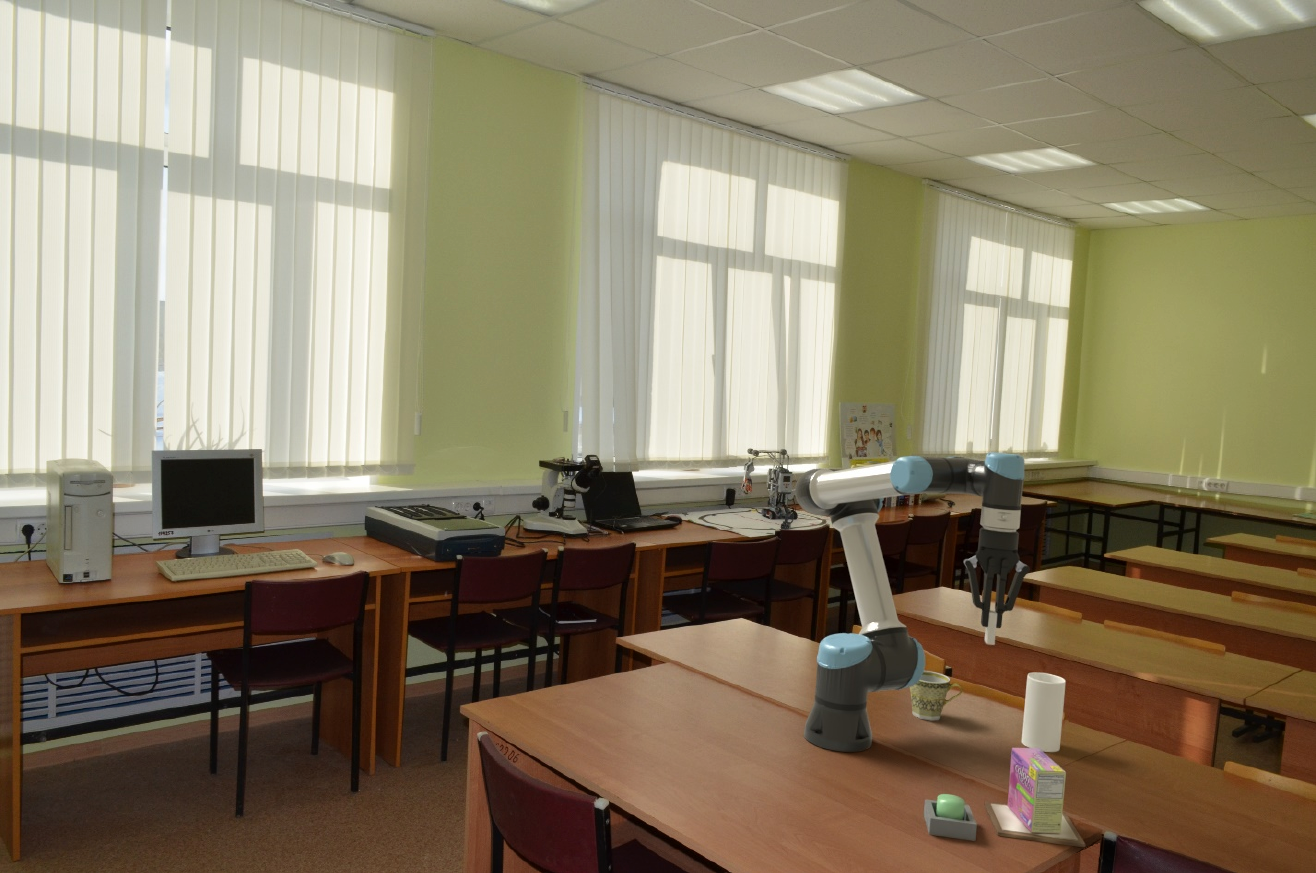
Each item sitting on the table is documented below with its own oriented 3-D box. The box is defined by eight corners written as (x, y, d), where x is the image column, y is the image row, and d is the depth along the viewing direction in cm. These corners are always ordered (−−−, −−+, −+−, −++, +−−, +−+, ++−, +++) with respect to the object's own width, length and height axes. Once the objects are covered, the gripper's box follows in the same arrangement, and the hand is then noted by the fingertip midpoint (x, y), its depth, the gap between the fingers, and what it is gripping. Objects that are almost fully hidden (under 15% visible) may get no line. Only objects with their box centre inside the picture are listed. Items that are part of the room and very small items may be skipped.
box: (1005, 806, 177) (1011, 746, 176) (1034, 807, 178) (1040, 748, 177) (1030, 833, 167) (1036, 770, 166) (1060, 834, 167) (1067, 771, 166)
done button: (937, 827, 167) (939, 803, 167) (933, 816, 172) (935, 792, 171) (964, 831, 166) (966, 807, 166) (960, 819, 171) (962, 796, 171)
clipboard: (997, 835, 167) (998, 829, 167) (984, 804, 180) (984, 799, 180) (1085, 847, 165) (1085, 841, 165) (1065, 815, 178) (1065, 809, 178)
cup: (1063, 754, 210) (1069, 685, 209) (1025, 749, 212) (1031, 680, 211) (1055, 741, 218) (1061, 675, 217) (1018, 736, 220) (1024, 670, 219)
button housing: (929, 834, 166) (930, 818, 166) (923, 814, 174) (925, 799, 173) (975, 841, 164) (976, 824, 164) (967, 820, 172) (969, 805, 172)
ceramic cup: (903, 718, 227) (906, 678, 227) (908, 706, 236) (911, 668, 236) (958, 728, 222) (961, 687, 222) (961, 716, 232) (964, 677, 231)
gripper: (969, 528, 185) (959, 644, 186) (1037, 534, 183) (1027, 651, 184) (963, 523, 192) (953, 634, 194) (1028, 529, 190) (1018, 641, 191)
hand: (989, 642), depth 189 cm, fingers closed
